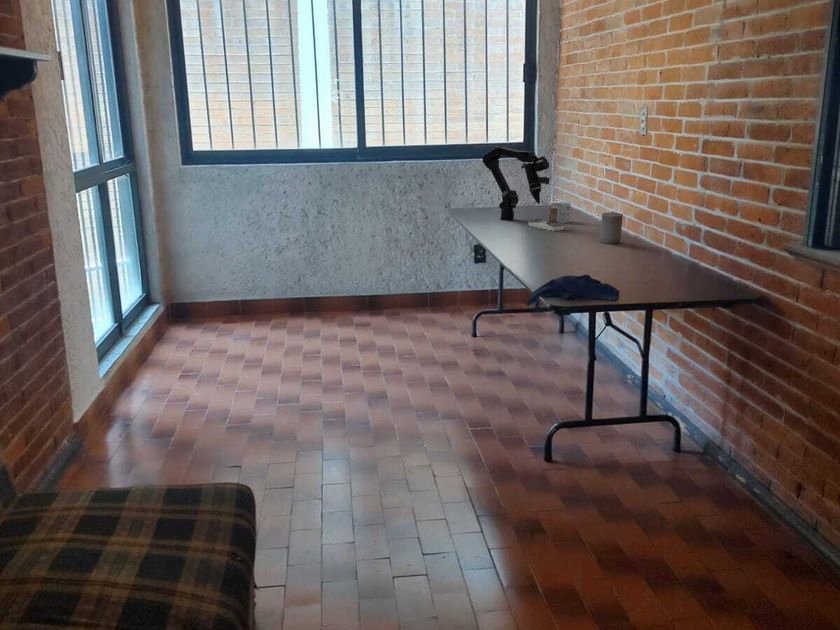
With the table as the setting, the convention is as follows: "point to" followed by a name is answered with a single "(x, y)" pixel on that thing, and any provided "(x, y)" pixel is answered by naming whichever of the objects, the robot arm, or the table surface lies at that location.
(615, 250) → the table surface
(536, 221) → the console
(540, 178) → the robot arm
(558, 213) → the light bulb box
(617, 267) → the table surface
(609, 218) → the pillar candle
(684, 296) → the table surface
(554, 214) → the fader
